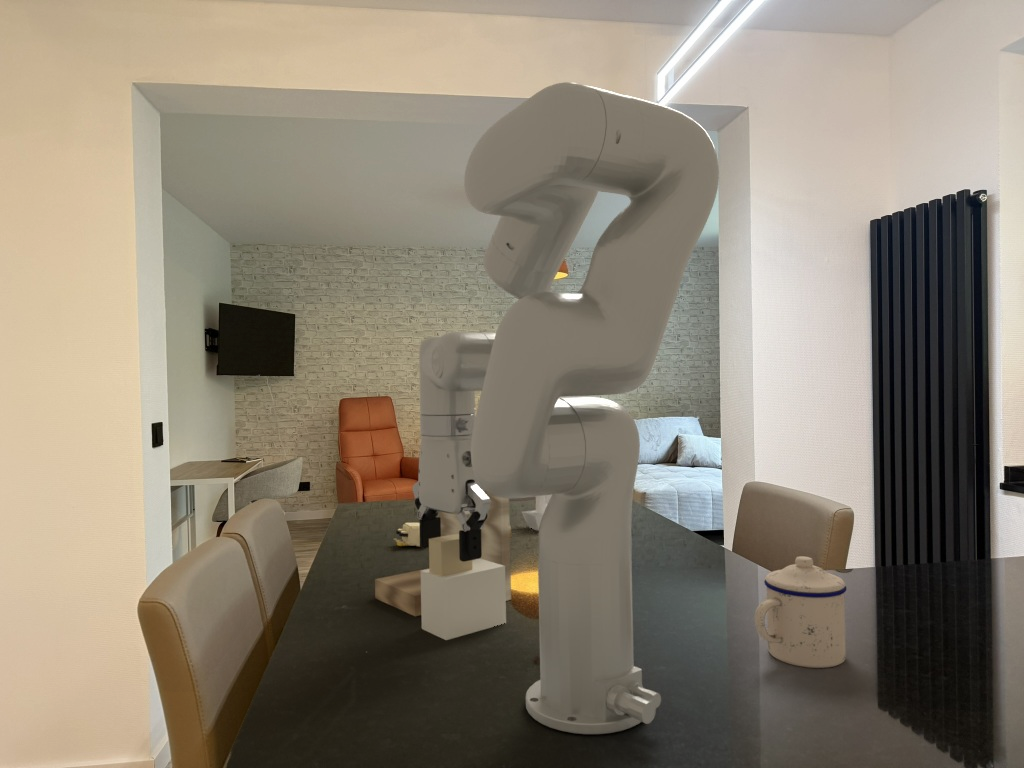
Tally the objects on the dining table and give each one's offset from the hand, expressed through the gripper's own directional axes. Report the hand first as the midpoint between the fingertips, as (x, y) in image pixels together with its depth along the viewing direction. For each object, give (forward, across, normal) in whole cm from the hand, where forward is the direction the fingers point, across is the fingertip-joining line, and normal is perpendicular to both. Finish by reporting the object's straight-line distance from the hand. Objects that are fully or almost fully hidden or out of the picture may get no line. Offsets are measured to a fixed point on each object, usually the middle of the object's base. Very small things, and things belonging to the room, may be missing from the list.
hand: (449, 552), depth 98 cm
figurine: (+11, +43, -54) cm, 70 cm away
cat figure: (+11, +46, -31) cm, 56 cm away
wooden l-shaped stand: (+11, +14, -7) cm, 18 cm away
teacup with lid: (+10, -36, -25) cm, 45 cm away
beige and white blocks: (+10, 0, -2) cm, 11 cm away
